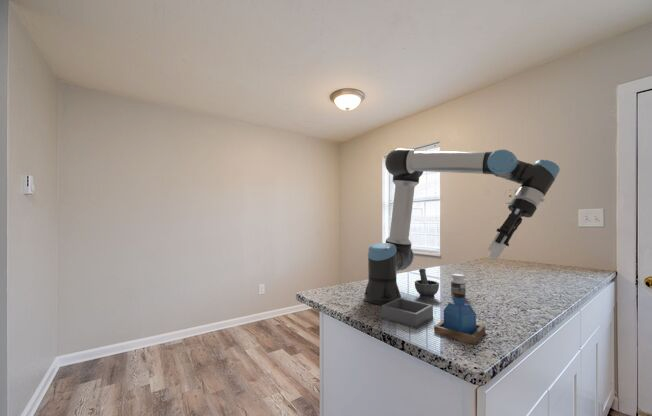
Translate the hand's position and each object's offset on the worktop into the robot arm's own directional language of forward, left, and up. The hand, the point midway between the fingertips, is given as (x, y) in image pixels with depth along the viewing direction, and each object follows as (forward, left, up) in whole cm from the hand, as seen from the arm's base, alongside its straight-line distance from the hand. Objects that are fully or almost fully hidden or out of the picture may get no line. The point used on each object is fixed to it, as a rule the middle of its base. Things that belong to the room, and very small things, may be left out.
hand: (492, 255), depth 95 cm
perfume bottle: (-5, -19, -22) cm, 30 cm away
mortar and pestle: (-28, +10, -22) cm, 37 cm away
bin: (-22, -19, -22) cm, 36 cm away
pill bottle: (-18, +20, -22) cm, 34 cm away
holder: (-5, -19, -22) cm, 29 cm away
